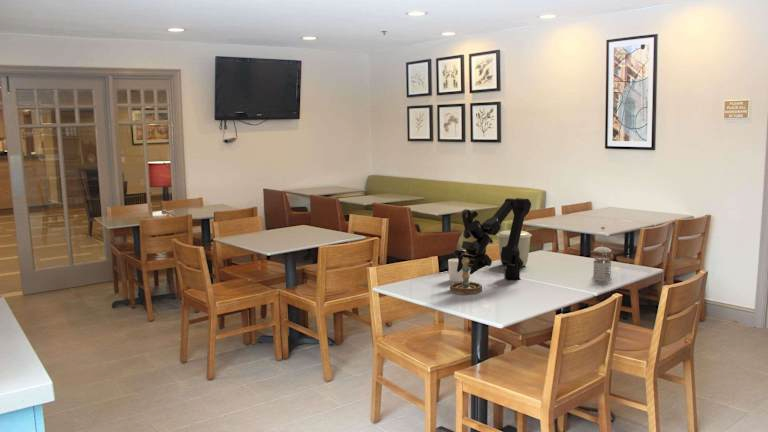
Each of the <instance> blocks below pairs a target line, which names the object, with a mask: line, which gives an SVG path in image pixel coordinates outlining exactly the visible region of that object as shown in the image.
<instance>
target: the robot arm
mask: <svg viewBox="0 0 768 432" xmlns="http://www.w3.org/2000/svg"><path fill="white" fill-rule="evenodd" d="M531 206H532V202H531V201H530V199H529V198H525V197H523V198H522V197H516V198H509V197H508V198H505V199H504V202H503V203H502V205H501V206H500V207H499V209H497V210H496V212H495V213H494V214H493V216H491V217H490V218H487V219H486V220H485V221H483V223H481V222H480V220H478V219H474V220H473V222H472V223H470V224H469V225H468V226H467V230H468V232H469V233H470V234H471V236H472V237H473V238H474V239H476V240H475V241H473V242H467V241H463V244H462V247H461V248H464V249H466V252H468V254H466V253H465V252H464V251H463V250H457V249H455V251H454V252H453V255H454V256H455V257H456V258H458V267H457V272H459V271H460V270H461V269H462V267H463V264H462V259H463V257H468V259H473V260H475V263H474V265H471V269H469V271H468V274H469V275H473V274H474V273H476V272H477V271H479V270H481V269H482V268H486V267H491V265H492V260H493V259H492V258H490V256H489V255H488V254H487V253H485V252H487V250H486V251H485V248H486V249H487V247H488V245H489V244H493V243H494V242H493V237H491V236H497V234H499V232H500V230H501V227H502V226H501V225H502V223H503V221H504V220H505V219H506V218H507V217H508V215H509V214H510V213H511V211H512V214H513V219H512V223H511V226H510V230H511V231H510V235H509V240H508V244H507V245H506V246H505V247H502V252H501V254H500V253H499V256H500V255H501V260H500V262H501V261H502V263H501V265H502V266H504V265H505V266H504V267H505V268H504V270H503V272H504V275H503V276H504V278H505V279H506V280H507V281H513V280H514V281H515V280H516V281H517V280H521V277H520V276H521V275H520V273H521V272H520V271H521V270H520V269H521V268H522V267H524V266H523V261H522V260H521V258H520V257H519V255H520V252H519V249H518V244H519V239H520V235H521V231H523V230H522V229H523V225H524V219H525V218H526V216H527V215H528V214H529V213H530V209H531ZM489 235H490V236H489ZM483 253H485V254H483Z"/></svg>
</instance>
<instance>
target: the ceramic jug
mask: <svg viewBox="0 0 768 432" xmlns="http://www.w3.org/2000/svg"><path fill="white" fill-rule="evenodd" d="M478 216H479V213H478V212H477V211H475V210H473V211H471V210H470V209H468V208H467V209H466V208H465V209H463V210H462V211H461V218H462V222H463V226H464V229H463V231H462V233H461V234H460V236H459V239H458V241H457V244H456V250H466V249H464V248H461V247H462V244H463V241H467V242H473V241H475V240H476V239H474V238H473V237H472V236H471V234H470V233H469V232H468V230H467V226H468V225H469V224H470V223H472V222H474V220H475V218H477V217H478ZM485 251H486V252H487V247H486V248H485ZM464 252H465V253H466V254H468V252H466V251H464ZM486 252H485V253H483V254H487V253H486ZM474 263H475V260H473V259H469V264H468V266H473V265H474Z"/></svg>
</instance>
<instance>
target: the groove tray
mask: <svg viewBox="0 0 768 432" xmlns="http://www.w3.org/2000/svg"><path fill="white" fill-rule="evenodd" d="M462 282H463V281H462ZM462 282H452V283H451V284H450V285H449V291H450V292H451V293H452V294H457V295H476V294H477V295H478V294H479V293H480V294H481V293H482V292H483V285H482V284H481V283H480V282H479V283H478V282H475V281H474V282H473V281H469V282H470V285H469V287H470V289H462V288H461V287H463V285H462Z"/></svg>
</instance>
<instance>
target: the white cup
mask: <svg viewBox="0 0 768 432" xmlns="http://www.w3.org/2000/svg"><path fill="white" fill-rule="evenodd" d="M447 260H448V261H447V263H448V274H449V281H450V282H452V283H457V282H463V278H462V274H463V271H462V269H461V270H460V271H459V272H457V267H458V258H457V257H456V258H450V259H447Z"/></svg>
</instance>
